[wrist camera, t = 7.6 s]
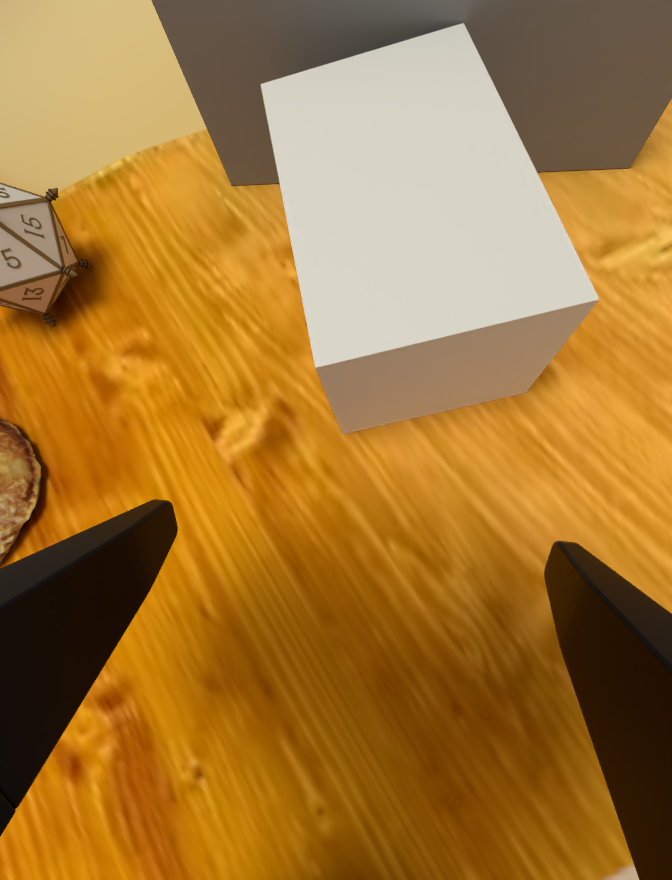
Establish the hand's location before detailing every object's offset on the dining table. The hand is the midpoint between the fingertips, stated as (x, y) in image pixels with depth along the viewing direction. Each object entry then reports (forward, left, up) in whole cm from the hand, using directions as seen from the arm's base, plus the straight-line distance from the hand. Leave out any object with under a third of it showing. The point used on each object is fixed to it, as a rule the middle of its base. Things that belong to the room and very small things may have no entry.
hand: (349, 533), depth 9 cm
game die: (+27, -6, -11) cm, 30 cm away
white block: (+5, -14, -11) cm, 19 cm away
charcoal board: (+8, -24, -11) cm, 28 cm away
